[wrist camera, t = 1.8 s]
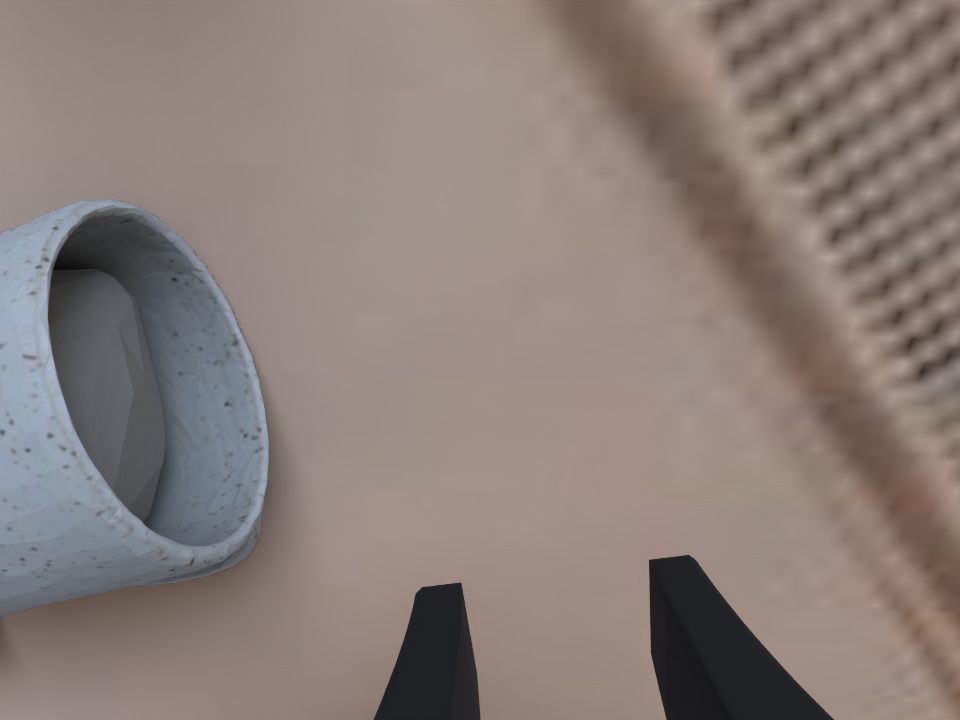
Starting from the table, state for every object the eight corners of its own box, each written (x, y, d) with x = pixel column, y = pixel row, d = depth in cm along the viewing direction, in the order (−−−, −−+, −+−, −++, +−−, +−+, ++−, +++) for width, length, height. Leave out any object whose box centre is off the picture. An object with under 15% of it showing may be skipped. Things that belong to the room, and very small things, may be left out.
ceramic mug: (-171, 273, 19) (-484, 481, 13) (140, 144, 18) (-24, 299, 12) (93, 580, 25) (-31, 841, 18) (348, 494, 23) (317, 739, 17)
